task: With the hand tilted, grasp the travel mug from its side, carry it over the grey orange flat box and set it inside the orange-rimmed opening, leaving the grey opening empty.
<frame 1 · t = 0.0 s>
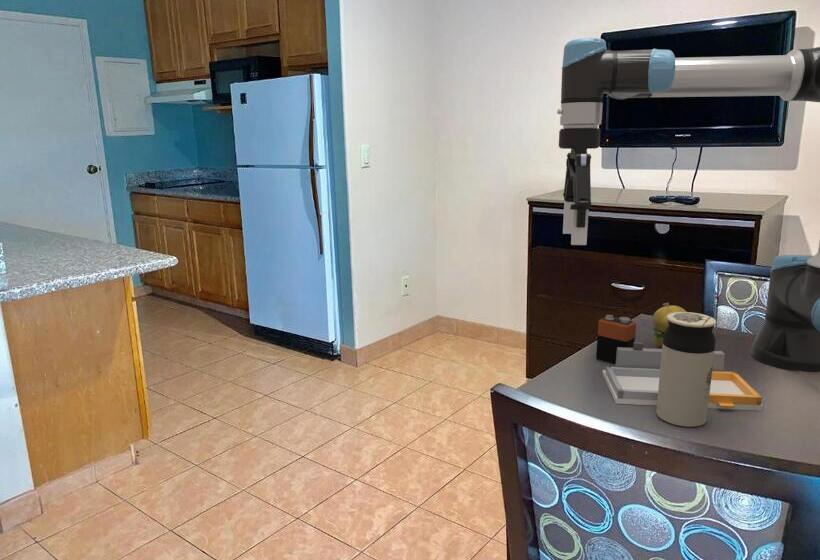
hand: (573, 239, 118), 28 cm above the table, tool pointing down, fingers open, 13 cm apart
travel mug: (680, 418, 104), on the table
grey orange flat box: (676, 391, 115), on the table
hamburger: (667, 352, 136), on the table
battery: (614, 361, 131), on the table
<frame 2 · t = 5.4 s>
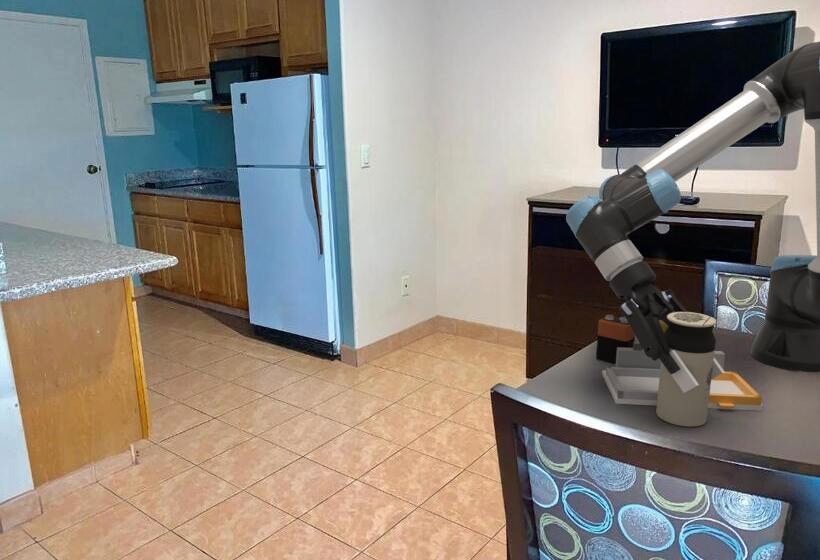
hand: (704, 382, 100), 8 cm above the table, tool tilted 45°, fingers closed on travel mug, 8 cm apart
travel mug: (680, 418, 104), on the table, touching gripper
everything else where it was.
when the fingers open (10 cm above the table, at t = 11.0 s): travel mug drops 1 cm, resting on grey orange flat box.
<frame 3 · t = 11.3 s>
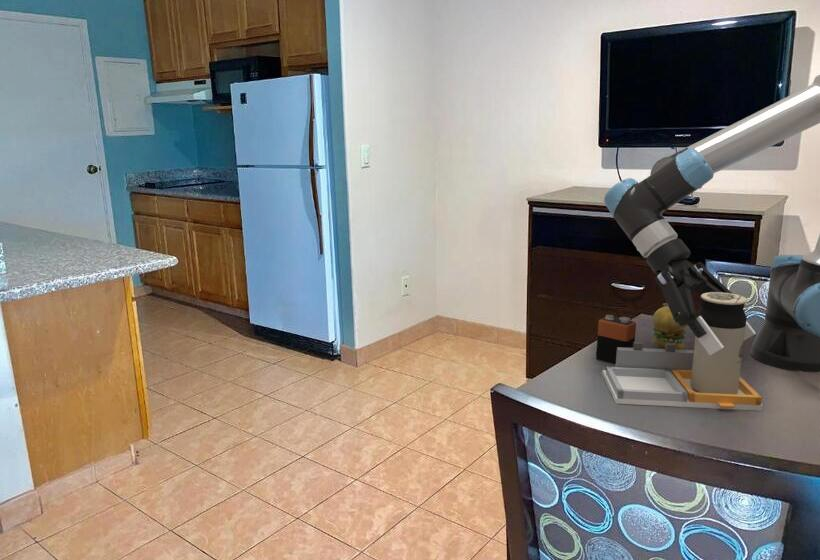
hand: (733, 344, 108), 11 cm above the table, tool tilted 45°, fingers open, 11 cm apart
travel mug: (713, 390, 113), point 1 cm above the table, touching grey orange flat box
everything else where it was.
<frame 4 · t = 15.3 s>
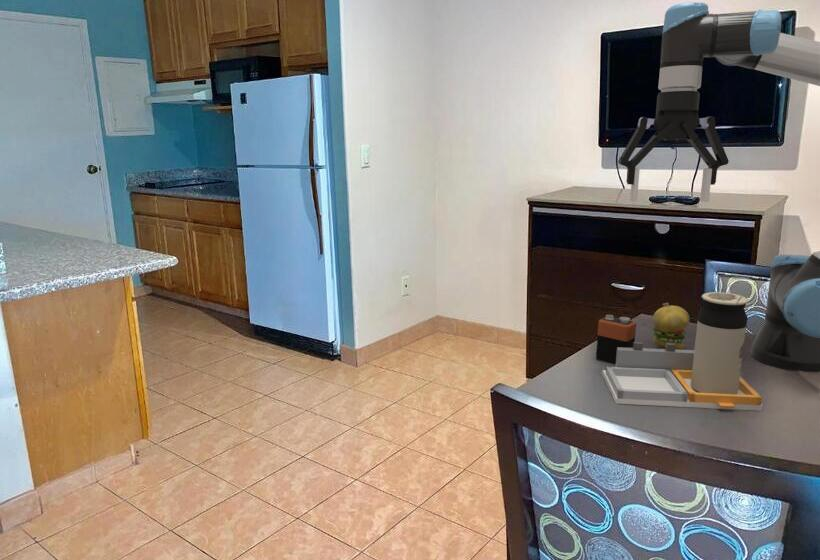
hand: (668, 201, 121), 35 cm above the table, tool pointing down, fingers open, 13 cm apart
nothing on the table moved.
at the end: travel mug 0.3 cm from the target spot on the grey orange flat box, point 0.8 cm above the grey orange flat box's base; travel mug tilted 0°; the gripper is holding nothing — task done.
